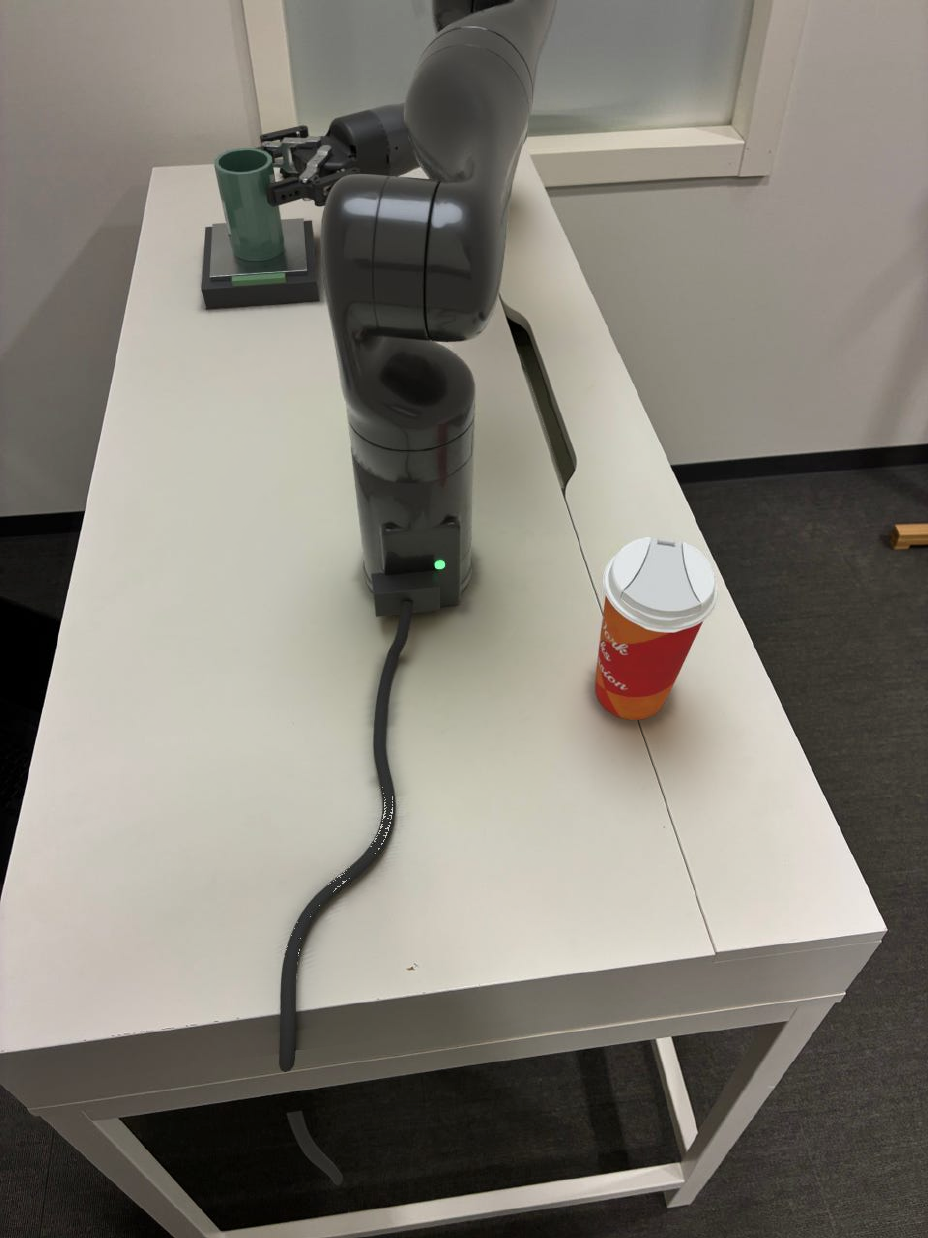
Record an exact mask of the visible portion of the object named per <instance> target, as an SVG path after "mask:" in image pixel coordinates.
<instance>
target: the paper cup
mask: <svg viewBox="0 0 928 1238" xmlns="http://www.w3.org/2000/svg"><path fill="white" fill-rule="evenodd" d="M602 586H603V590H604V593H605V596H604V604H603V612H602V621H601V629H600V635H599V644H598V652H597V660H596V668H595V680H594V689H595V695H596V697H597V699H598V702H599V703H600V704H601V706H602V707H603V708H604V709H605V710H606V711H608V712H609V713H610V714H612V715H614V716H615V717H618V718H621V719H624V720H629V721H630V720H631V721H638V720H639V721H640V720H645V719H647V718H650V717H652V716H654V715H655V714H657V713H658V712H659V711H660V710H661V708H662V707H663V706H664V704H665V702H666V701H667V699H668V697H669V696H670V694H671V691H672V688H673V686H674V685H675V684H676V683H675V682H676V680H677V678H678V676H679V674H680V672H681V670H682V668H683V666H684V663H685V661H686V660H687V657H688V655H689V653H690V651H691V649H692V646H693V644H694V642H695V640H696V637H697V636H698V634H699V632H700V630H701V627H702V625H703V623H704V621H705V620H707V619H708V617H710V616H711V615H712V613H713V612H714V610H715V609H716V606H717V603H718V598H719V587H718V583H717V580H716V575H715V572H714V569H713V566H712V564H711V563H710V561H709V560H708V558H707V557H706V556H705V555H704V554H703V553H702V552H701V551H699V550H698V549H697V548H696V547H694V546H692V545H691V544H689V543H687V542H685V541H682V542H676V540H674V539H668V538H662V537H658V538H657V539H655V538H652V537H651V536H645V537H642V538H641V537H640V538H638V539H635V540H633V541H630V542H629V543H627V544H626V545H625V546H623V547H622V548H621V549H619V551H618V552H617V553H616V554H615V555H614V556H613V557H612V558H611V559H610V560H609V562H608V563H607V565H606V567H605V569H604V573H603V577H602Z"/></svg>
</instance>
